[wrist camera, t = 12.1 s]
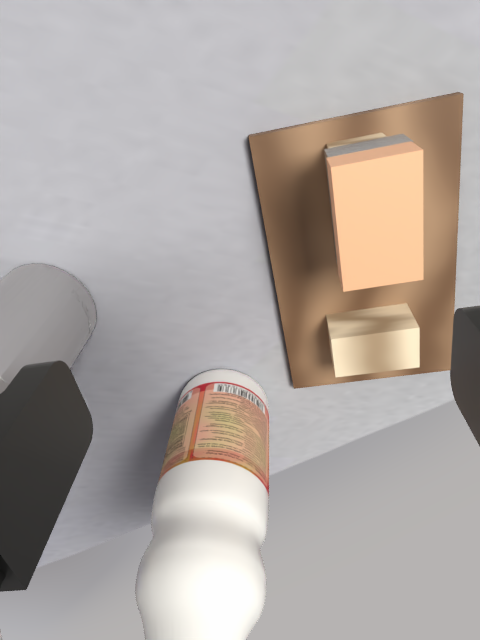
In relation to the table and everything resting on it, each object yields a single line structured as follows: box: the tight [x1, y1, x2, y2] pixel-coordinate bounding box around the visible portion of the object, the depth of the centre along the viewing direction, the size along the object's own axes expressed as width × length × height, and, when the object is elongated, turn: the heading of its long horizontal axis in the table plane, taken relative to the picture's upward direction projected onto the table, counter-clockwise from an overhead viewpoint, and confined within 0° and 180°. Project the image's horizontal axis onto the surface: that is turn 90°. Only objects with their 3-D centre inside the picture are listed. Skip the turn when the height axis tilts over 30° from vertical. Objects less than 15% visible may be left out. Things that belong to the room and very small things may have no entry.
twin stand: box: [249, 92, 463, 389], centre depth 37 cm, size 15×24×5 cm, turn 11°
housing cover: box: [326, 141, 423, 292], centre depth 28 cm, size 8×5×2 cm, turn 11°
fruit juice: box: [135, 369, 269, 640], centre depth 36 cm, size 9×9×28 cm
